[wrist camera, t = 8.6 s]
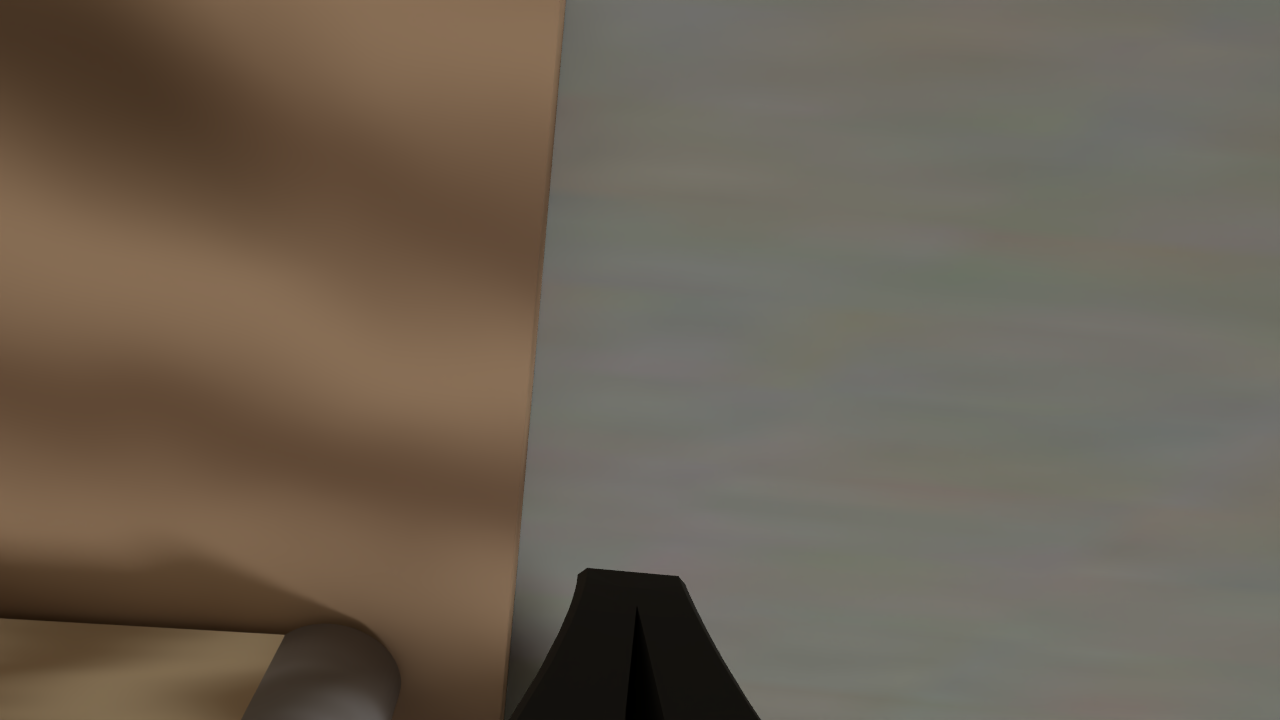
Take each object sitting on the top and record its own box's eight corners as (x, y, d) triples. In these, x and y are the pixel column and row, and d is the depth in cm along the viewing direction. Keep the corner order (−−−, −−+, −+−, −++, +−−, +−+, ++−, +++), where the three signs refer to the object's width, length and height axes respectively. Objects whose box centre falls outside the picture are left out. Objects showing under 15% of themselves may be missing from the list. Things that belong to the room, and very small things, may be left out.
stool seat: (501, 748, 25) (476, 912, 21) (-257, 690, 24) (-458, 851, 19) (567, -24, 17) (550, -30, 13) (-538, -174, 16) (-976, -235, 12)
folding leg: (400, 627, 21) (366, 725, 18) (401, 732, 22) (369, 840, 19) (-260, 589, 20) (-402, 685, 17) (-221, 700, 21) (-348, 807, 18)
